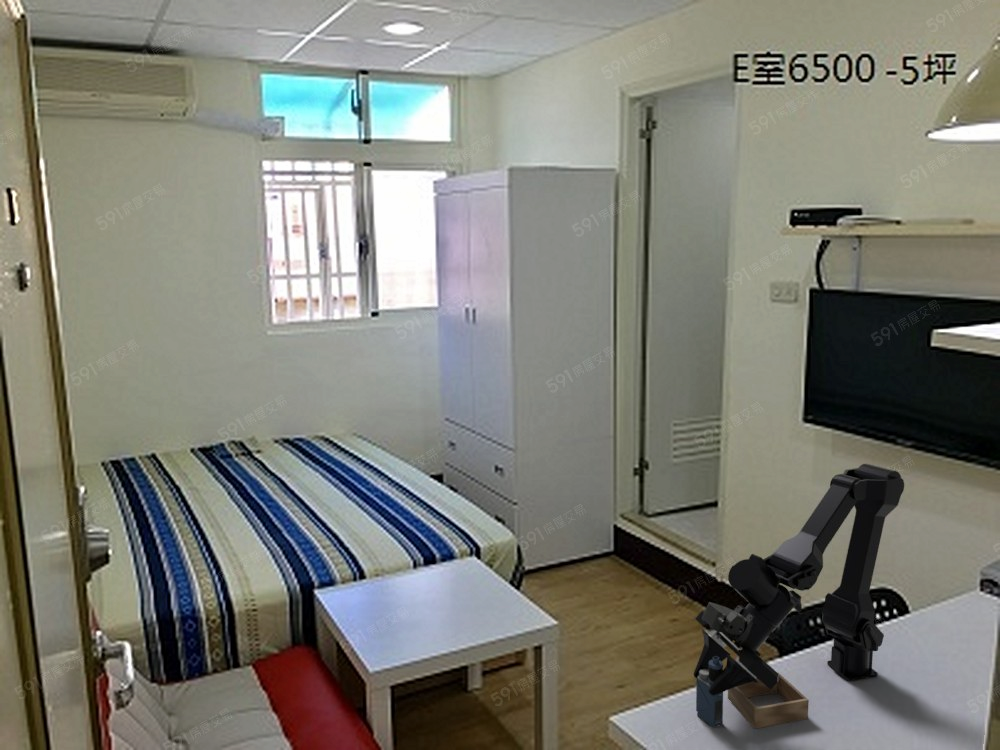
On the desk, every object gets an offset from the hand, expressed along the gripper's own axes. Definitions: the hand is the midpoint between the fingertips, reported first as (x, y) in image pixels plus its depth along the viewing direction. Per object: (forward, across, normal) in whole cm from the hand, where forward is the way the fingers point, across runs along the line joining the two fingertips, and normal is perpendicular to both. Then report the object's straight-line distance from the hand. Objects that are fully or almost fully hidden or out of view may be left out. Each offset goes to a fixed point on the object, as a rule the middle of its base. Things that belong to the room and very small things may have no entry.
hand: (702, 685), depth 133 cm
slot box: (-4, 0, +13) cm, 14 cm away
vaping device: (+4, 0, +6) cm, 7 cm away
